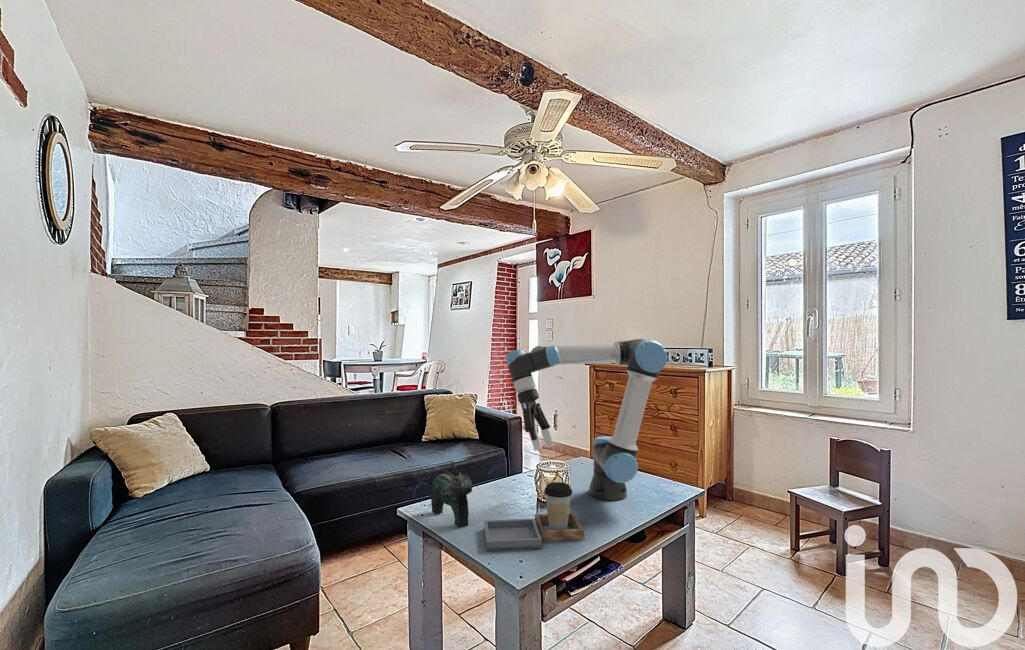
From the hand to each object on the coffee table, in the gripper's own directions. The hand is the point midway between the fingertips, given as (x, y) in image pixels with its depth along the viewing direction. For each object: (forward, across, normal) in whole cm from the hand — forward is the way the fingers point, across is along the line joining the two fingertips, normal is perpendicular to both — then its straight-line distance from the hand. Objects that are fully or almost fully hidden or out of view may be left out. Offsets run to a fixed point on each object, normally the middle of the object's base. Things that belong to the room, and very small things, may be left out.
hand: (544, 448), depth 162 cm
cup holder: (+27, +2, -4) cm, 27 cm away
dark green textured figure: (+13, +8, -39) cm, 42 cm away
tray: (+24, +13, -16) cm, 31 cm away
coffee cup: (+27, +2, -4) cm, 27 cm away
